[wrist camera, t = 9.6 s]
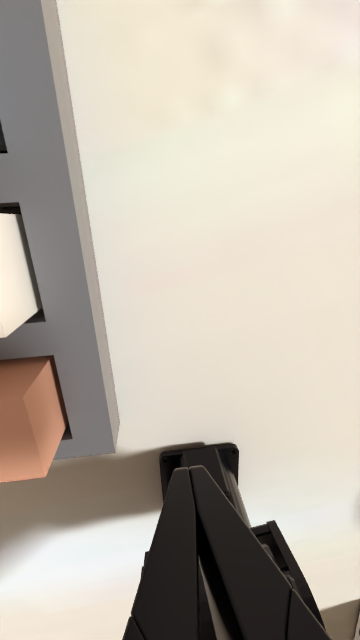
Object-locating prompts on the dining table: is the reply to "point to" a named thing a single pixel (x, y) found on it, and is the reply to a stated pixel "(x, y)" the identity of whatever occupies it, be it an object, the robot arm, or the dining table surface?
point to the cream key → (16, 276)
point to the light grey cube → (2, 140)
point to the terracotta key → (29, 417)
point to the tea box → (357, 630)
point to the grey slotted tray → (54, 225)
